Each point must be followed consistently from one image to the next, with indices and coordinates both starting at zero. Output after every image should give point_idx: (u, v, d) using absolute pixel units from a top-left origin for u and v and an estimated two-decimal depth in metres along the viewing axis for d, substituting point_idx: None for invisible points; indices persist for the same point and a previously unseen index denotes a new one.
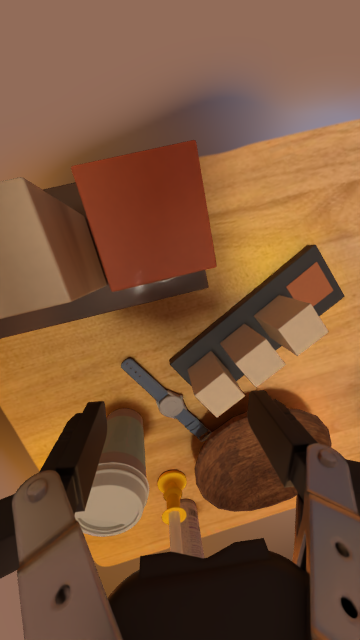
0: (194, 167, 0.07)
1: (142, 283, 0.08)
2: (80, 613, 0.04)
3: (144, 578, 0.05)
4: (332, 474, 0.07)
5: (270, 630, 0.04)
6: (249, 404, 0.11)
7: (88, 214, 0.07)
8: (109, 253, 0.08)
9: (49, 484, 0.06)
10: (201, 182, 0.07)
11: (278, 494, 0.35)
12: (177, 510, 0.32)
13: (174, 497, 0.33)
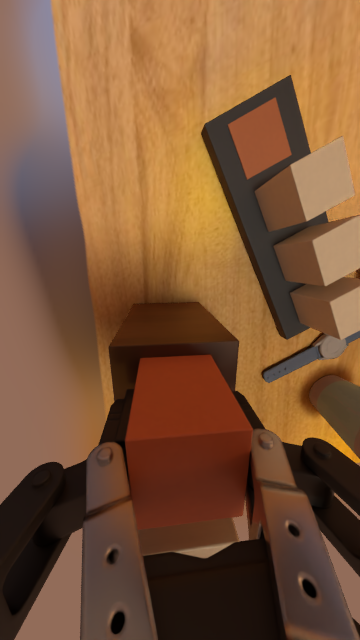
0: (150, 443, 0.07)
1: (244, 493, 0.08)
2: (124, 581, 0.04)
3: None
4: (272, 455, 0.07)
5: (270, 630, 0.04)
6: None
7: (173, 524, 0.08)
8: (209, 514, 0.08)
9: (114, 452, 0.07)
10: (165, 437, 0.07)
11: None
12: None
13: None
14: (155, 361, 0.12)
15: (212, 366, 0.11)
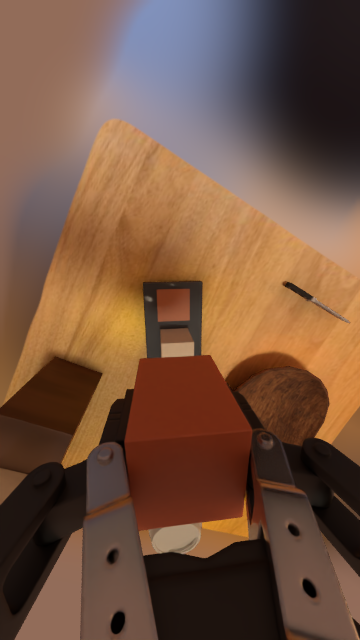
0: (149, 444, 0.07)
1: (244, 494, 0.08)
2: (124, 581, 0.04)
3: None
4: (272, 455, 0.07)
5: (270, 630, 0.04)
6: None
7: (172, 525, 0.08)
8: (208, 515, 0.08)
9: (114, 452, 0.07)
10: (164, 438, 0.07)
11: (313, 425, 0.38)
12: None
13: None
14: (155, 362, 0.12)
15: (212, 367, 0.11)
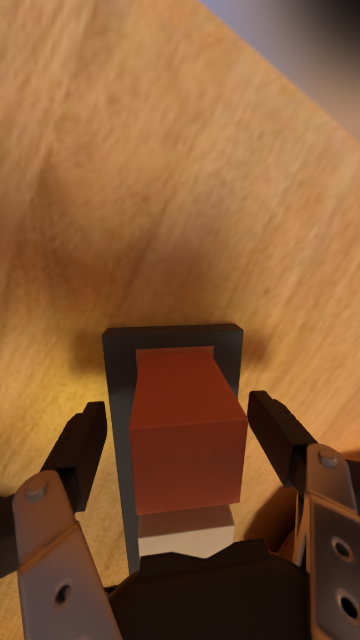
0: (152, 432, 0.07)
1: (240, 480, 0.08)
2: (80, 613, 0.04)
3: (144, 578, 0.05)
4: (332, 474, 0.07)
5: (270, 630, 0.04)
6: (249, 404, 0.11)
7: (173, 510, 0.08)
8: (207, 500, 0.08)
9: (49, 484, 0.06)
10: (166, 426, 0.07)
11: None
12: None
13: None
14: (156, 357, 0.12)
15: (211, 362, 0.12)
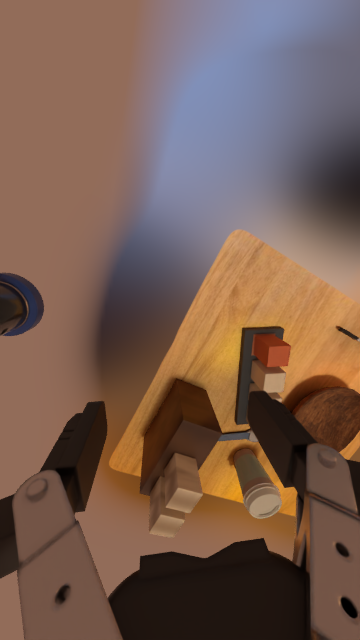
0: (273, 347, 0.39)
1: (288, 360, 0.40)
2: (80, 613, 0.04)
3: (144, 578, 0.05)
4: (332, 474, 0.07)
5: (270, 630, 0.04)
6: (249, 404, 0.11)
7: (274, 366, 0.40)
8: (281, 364, 0.40)
9: (49, 484, 0.06)
10: (276, 346, 0.39)
11: (354, 428, 0.52)
12: None
13: None
14: (260, 336, 0.44)
15: (276, 337, 0.43)
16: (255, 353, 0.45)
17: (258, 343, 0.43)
